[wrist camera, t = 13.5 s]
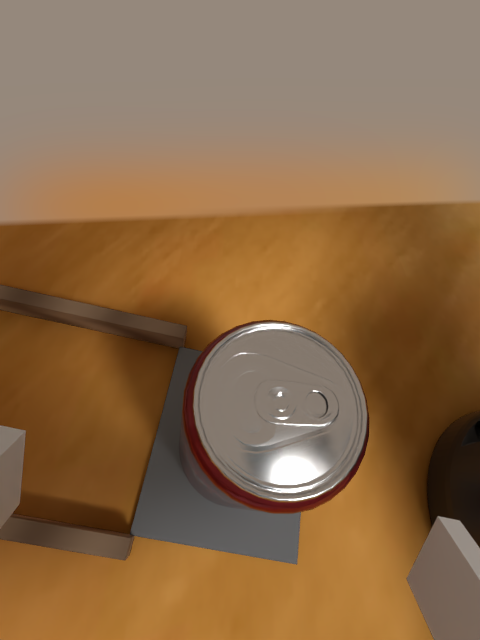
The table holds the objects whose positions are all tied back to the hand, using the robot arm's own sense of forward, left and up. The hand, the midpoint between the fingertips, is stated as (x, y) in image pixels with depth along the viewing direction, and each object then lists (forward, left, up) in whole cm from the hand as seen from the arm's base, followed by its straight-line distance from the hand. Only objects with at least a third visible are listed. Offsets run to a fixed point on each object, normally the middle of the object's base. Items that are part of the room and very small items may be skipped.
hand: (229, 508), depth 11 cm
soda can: (-1, -4, -12) cm, 13 cm away
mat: (-1, -4, -12) cm, 13 cm away
